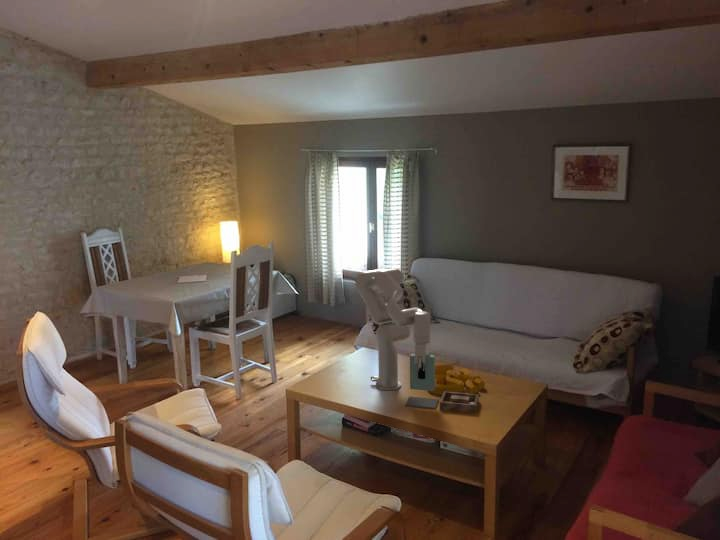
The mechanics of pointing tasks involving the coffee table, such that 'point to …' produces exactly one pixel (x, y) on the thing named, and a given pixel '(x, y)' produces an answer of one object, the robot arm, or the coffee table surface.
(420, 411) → the coffee table surface
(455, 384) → the decorative symbol
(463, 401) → the offcut stack
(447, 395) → the brown rectangular frame
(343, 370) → the coffee table surface
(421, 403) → the mat
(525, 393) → the coffee table surface
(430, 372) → the teal rectangular block
